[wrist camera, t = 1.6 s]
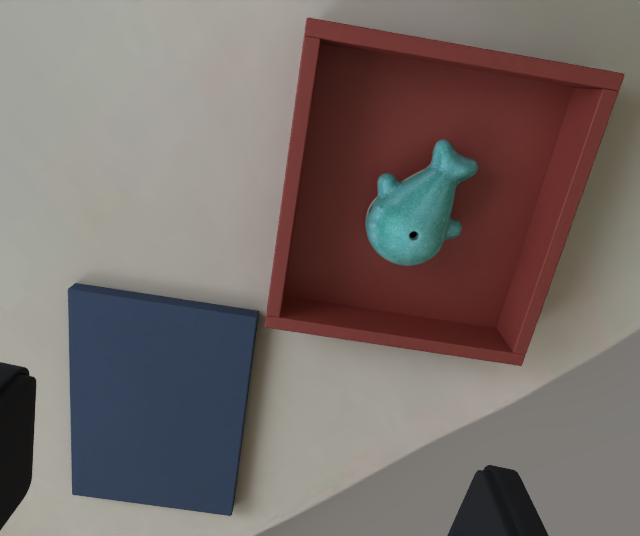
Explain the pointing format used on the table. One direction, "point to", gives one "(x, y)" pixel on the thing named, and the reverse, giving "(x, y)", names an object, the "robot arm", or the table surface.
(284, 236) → the bin
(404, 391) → the table surface
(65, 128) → the table surface
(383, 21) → the table surface
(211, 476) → the play mat
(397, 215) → the whale figurine
